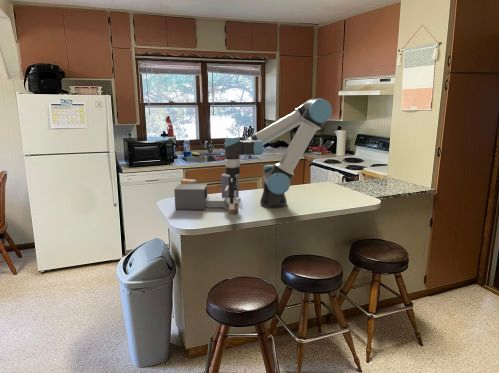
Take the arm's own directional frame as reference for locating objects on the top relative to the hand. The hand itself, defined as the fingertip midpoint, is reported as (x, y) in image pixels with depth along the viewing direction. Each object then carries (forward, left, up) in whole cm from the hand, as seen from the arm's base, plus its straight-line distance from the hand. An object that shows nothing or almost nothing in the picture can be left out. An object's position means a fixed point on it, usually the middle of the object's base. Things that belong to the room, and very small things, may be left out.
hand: (232, 205), depth 201 cm
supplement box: (+28, -22, -4) cm, 36 cm away
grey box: (+24, -9, -4) cm, 26 cm away
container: (+4, -28, -4) cm, 29 cm away
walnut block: (0, 0, -4) cm, 4 cm away
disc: (0, 0, +2) cm, 2 cm away
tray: (+11, -9, -3) cm, 15 cm away
